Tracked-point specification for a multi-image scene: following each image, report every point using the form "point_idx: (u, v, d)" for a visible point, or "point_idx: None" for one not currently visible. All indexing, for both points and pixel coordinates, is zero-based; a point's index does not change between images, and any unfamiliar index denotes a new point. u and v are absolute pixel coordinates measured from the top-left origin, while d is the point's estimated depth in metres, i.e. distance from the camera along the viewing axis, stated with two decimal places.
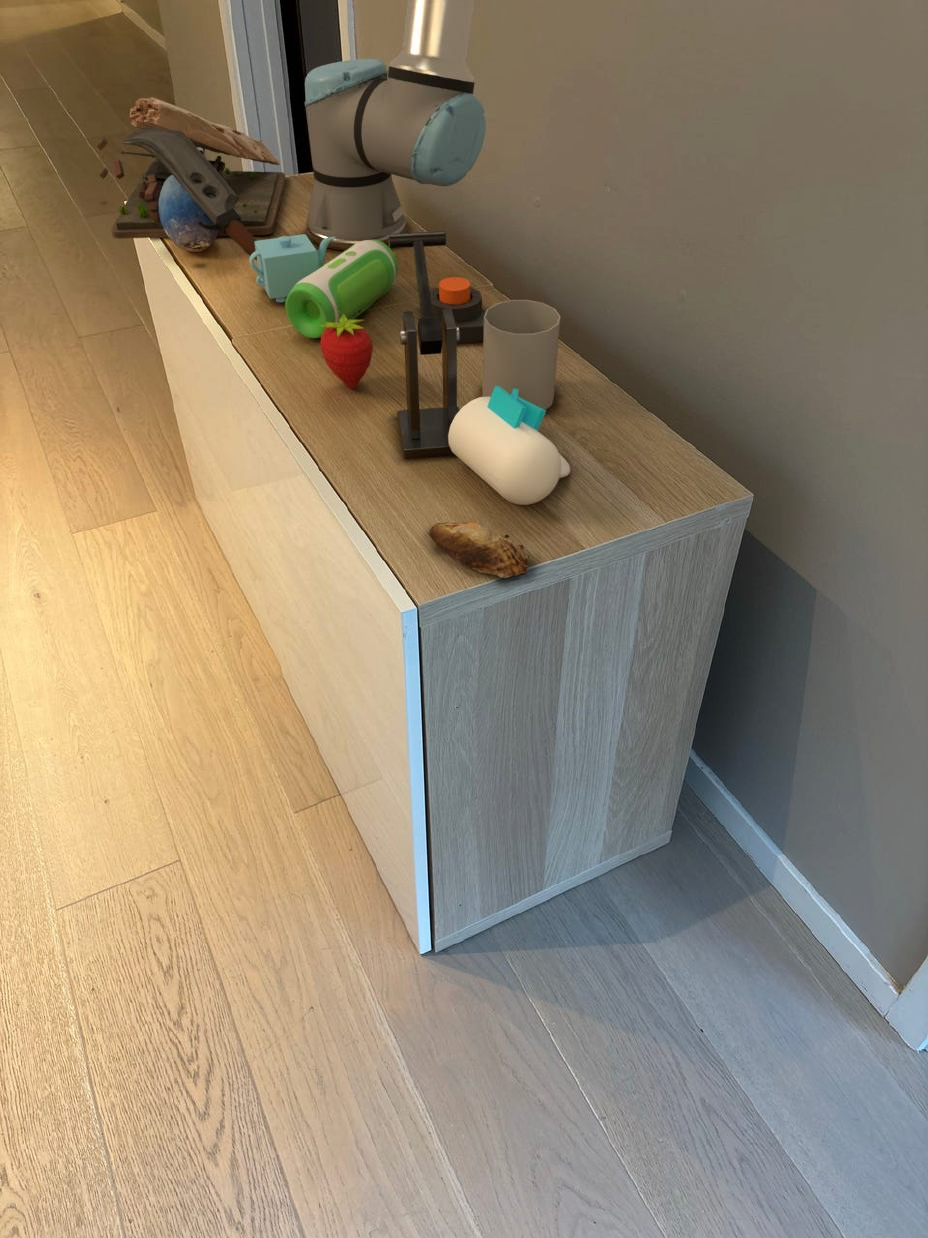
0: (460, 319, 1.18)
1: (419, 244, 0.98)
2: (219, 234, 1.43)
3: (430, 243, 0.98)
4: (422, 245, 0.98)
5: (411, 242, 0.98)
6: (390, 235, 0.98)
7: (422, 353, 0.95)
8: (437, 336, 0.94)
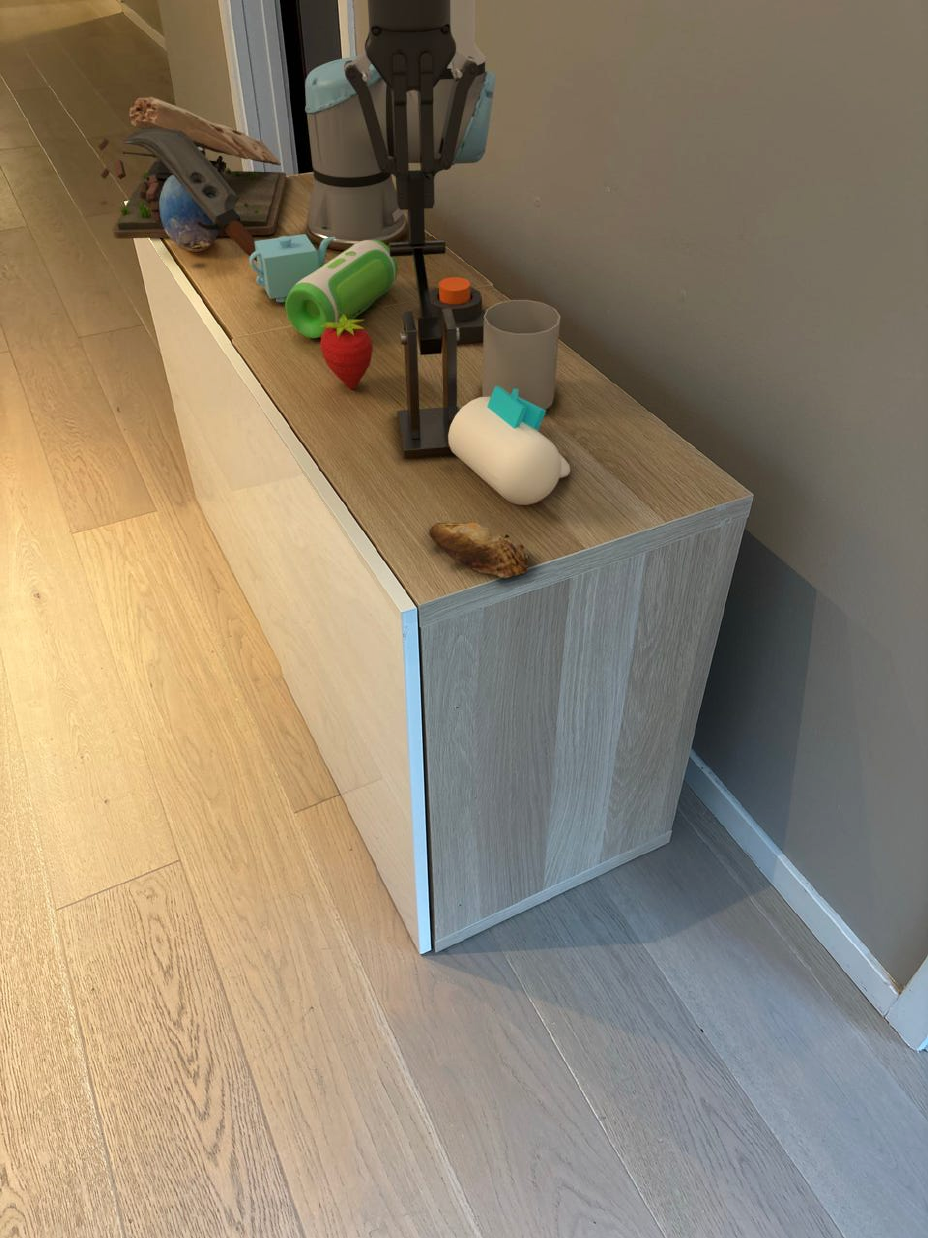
0: (460, 319, 1.18)
1: (419, 251, 0.99)
2: (220, 234, 1.43)
3: (430, 251, 1.00)
4: (422, 252, 0.99)
5: (411, 250, 0.99)
6: (390, 243, 0.99)
7: (422, 353, 0.95)
8: (436, 334, 0.94)
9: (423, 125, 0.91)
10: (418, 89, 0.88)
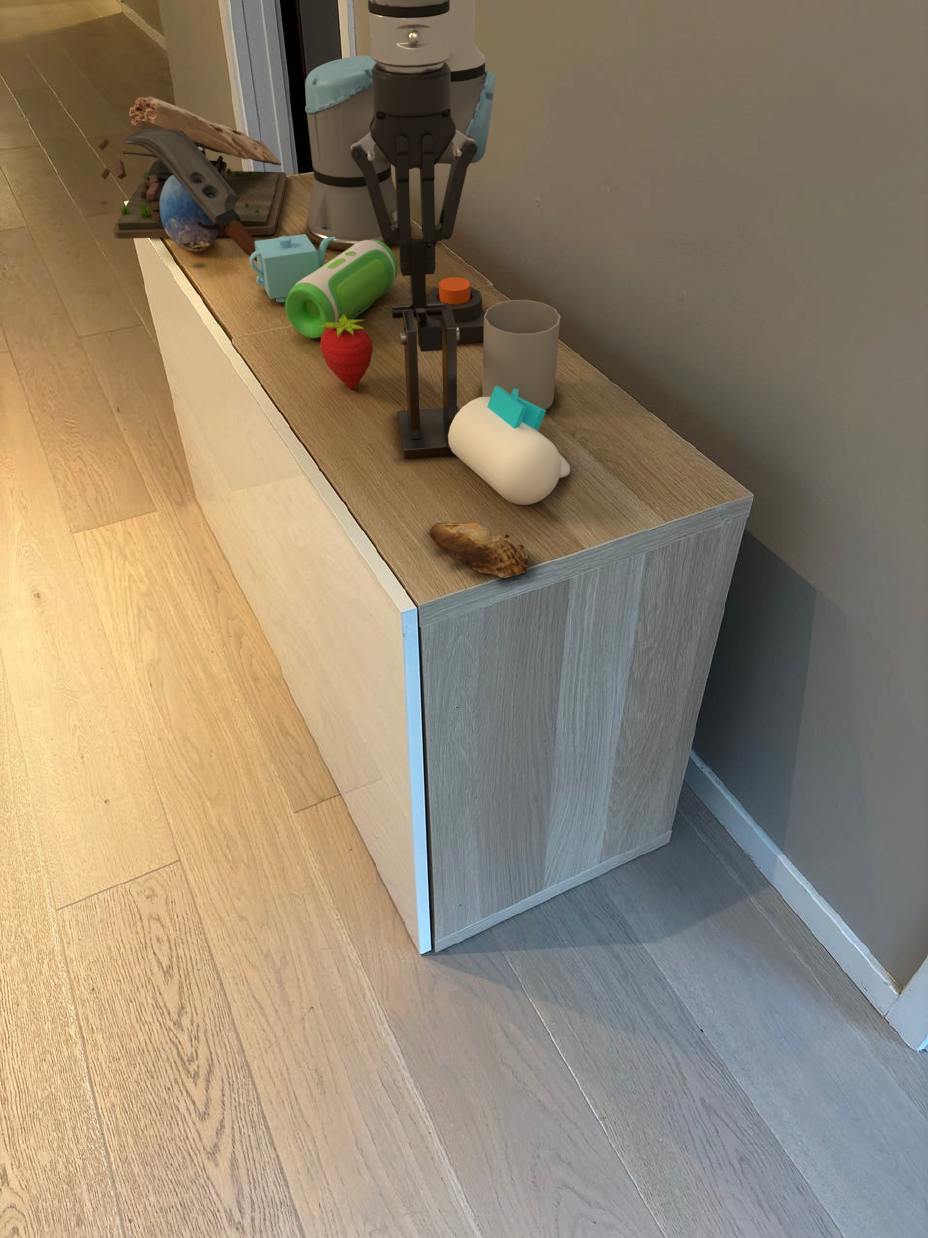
0: (460, 319, 1.18)
1: (420, 307, 1.04)
2: (221, 234, 1.43)
3: (431, 310, 1.05)
4: (423, 307, 1.04)
5: (412, 308, 1.04)
6: (393, 305, 1.05)
7: (423, 348, 0.94)
8: (435, 325, 0.94)
9: (425, 200, 0.96)
10: (420, 167, 0.93)
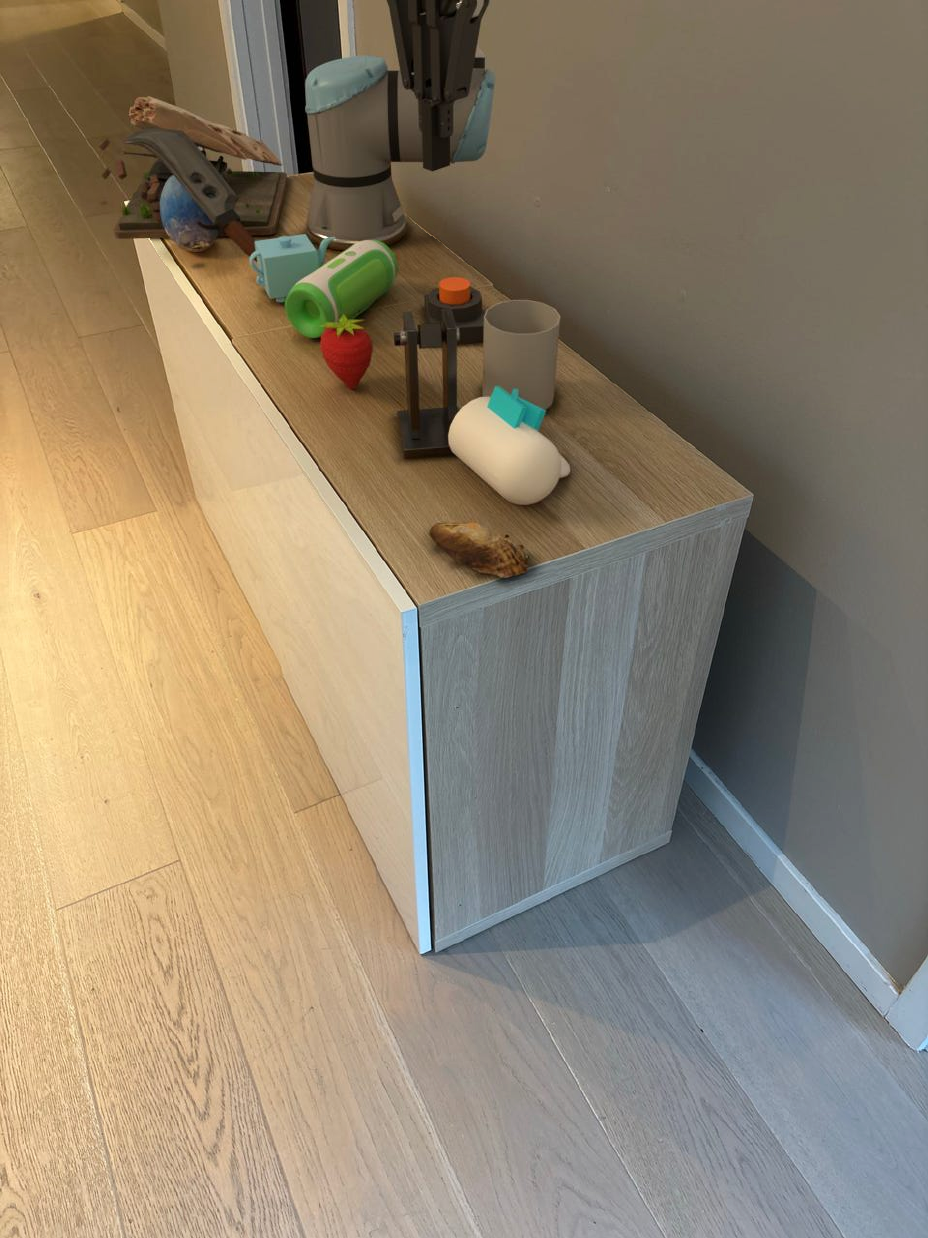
0: (460, 319, 1.18)
1: None
2: None
3: None
4: None
5: None
6: (395, 333, 1.06)
7: (423, 345, 0.94)
8: None
9: (432, 51, 0.93)
10: None
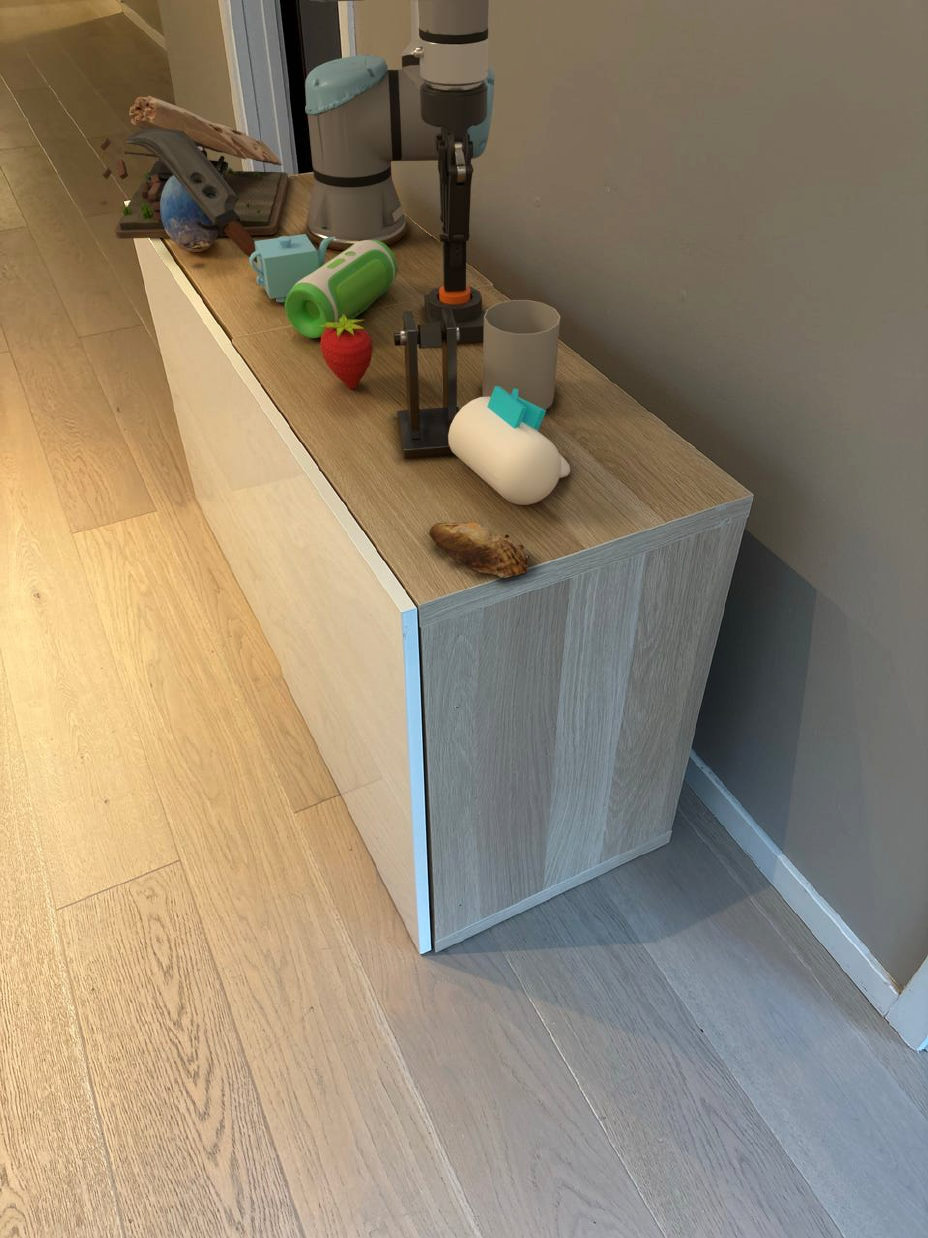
0: (460, 319, 1.18)
1: None
2: None
3: None
4: None
5: None
6: (395, 333, 1.06)
7: (423, 345, 0.94)
8: None
9: (445, 199, 1.10)
10: (446, 169, 1.08)
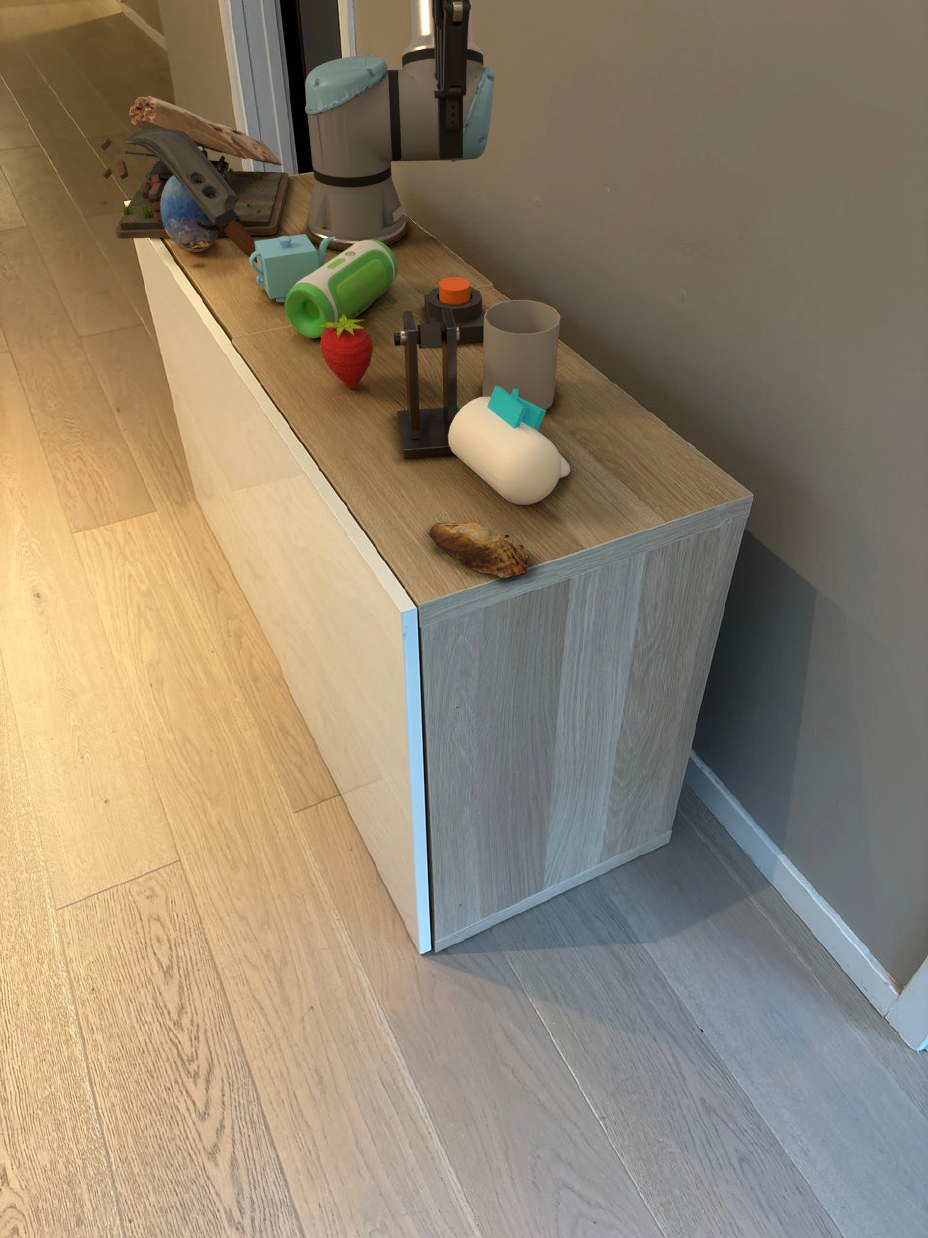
0: (460, 319, 1.18)
1: None
2: None
3: None
4: None
5: None
6: (395, 333, 1.06)
7: (423, 345, 0.94)
8: None
9: (440, 47, 1.00)
10: (440, 12, 0.98)
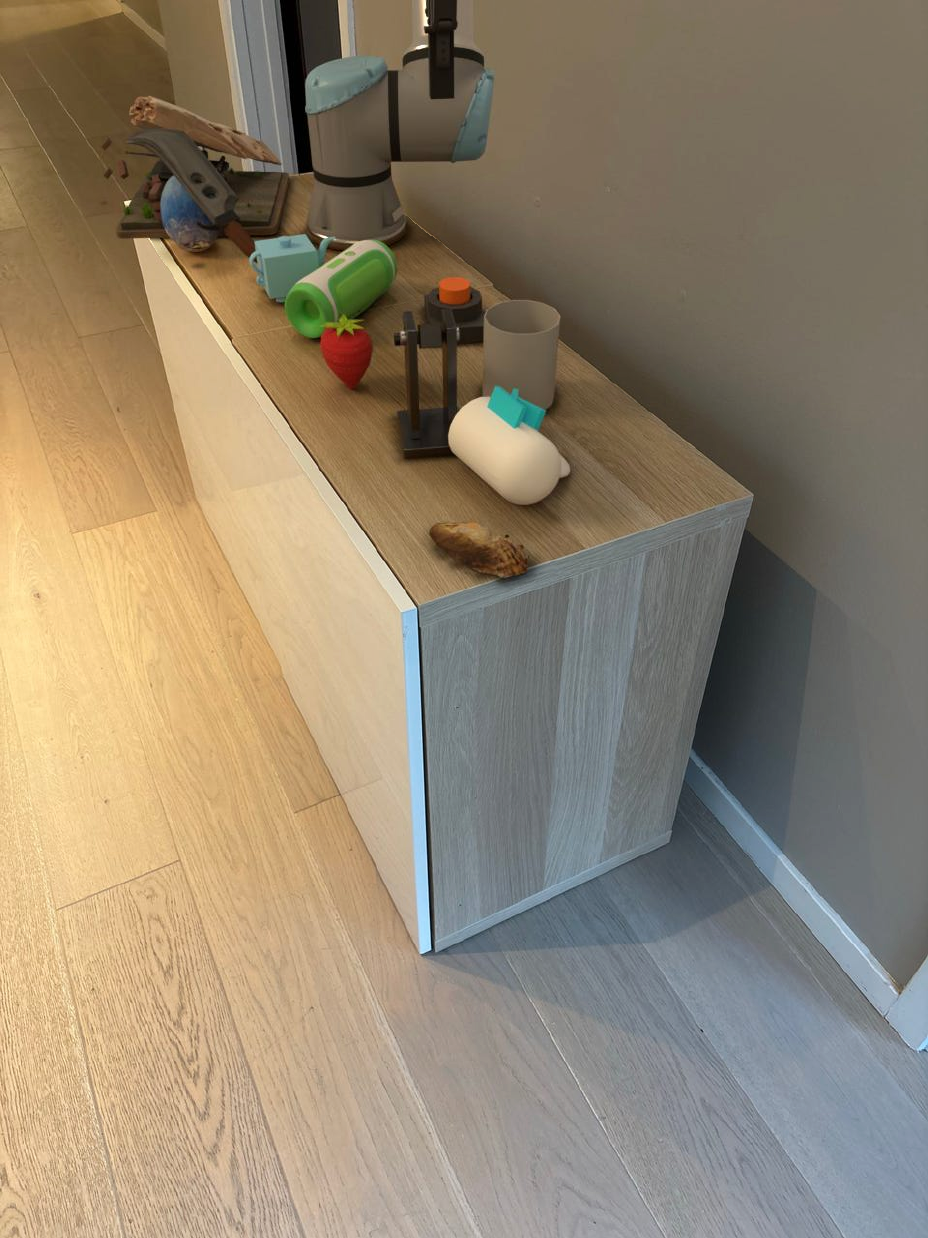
0: (460, 319, 1.18)
1: None
2: None
3: None
4: None
5: None
6: (395, 333, 1.06)
7: (423, 345, 0.94)
8: None
9: None
10: None
